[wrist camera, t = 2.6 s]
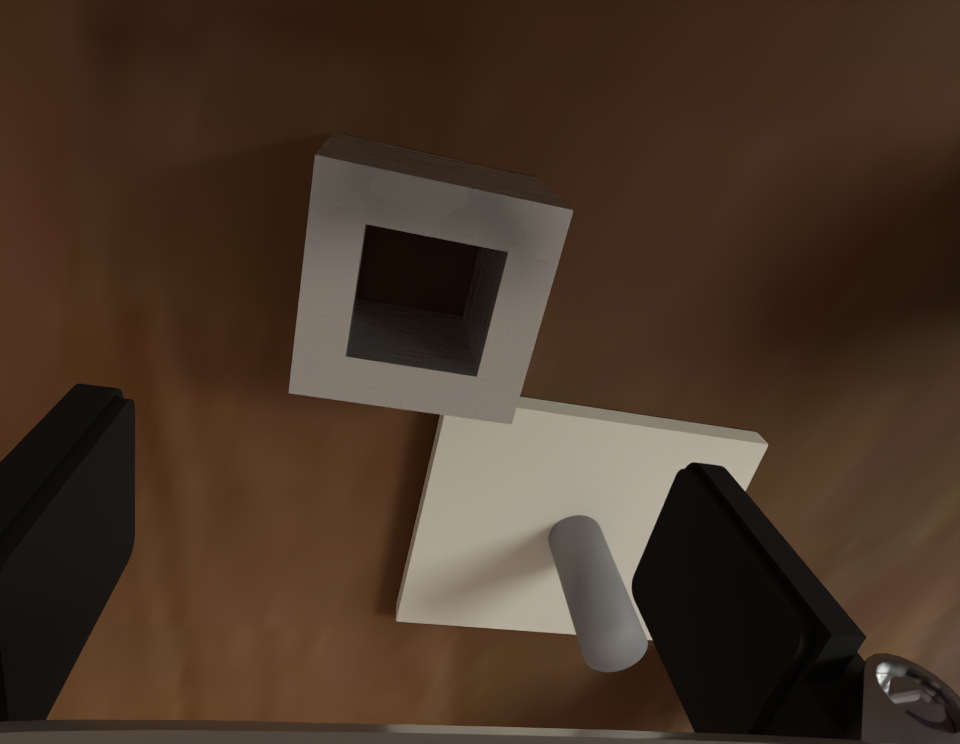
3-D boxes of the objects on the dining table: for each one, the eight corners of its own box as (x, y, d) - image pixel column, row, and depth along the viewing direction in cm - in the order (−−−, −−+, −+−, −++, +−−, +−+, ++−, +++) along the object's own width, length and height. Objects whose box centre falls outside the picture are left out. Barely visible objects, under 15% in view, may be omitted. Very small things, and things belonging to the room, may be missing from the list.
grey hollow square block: (538, 177, 22) (573, 210, 17) (491, 357, 25) (511, 424, 20) (333, 132, 20) (314, 154, 16) (309, 328, 23) (288, 393, 19)
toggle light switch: (756, 432, 28) (858, 541, 22) (663, 625, 33) (724, 759, 27) (446, 385, 25) (461, 495, 19) (396, 604, 30) (394, 747, 24)
